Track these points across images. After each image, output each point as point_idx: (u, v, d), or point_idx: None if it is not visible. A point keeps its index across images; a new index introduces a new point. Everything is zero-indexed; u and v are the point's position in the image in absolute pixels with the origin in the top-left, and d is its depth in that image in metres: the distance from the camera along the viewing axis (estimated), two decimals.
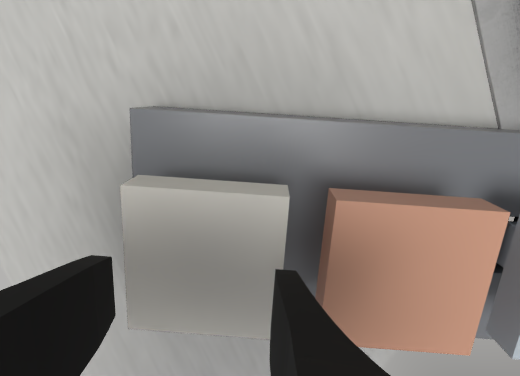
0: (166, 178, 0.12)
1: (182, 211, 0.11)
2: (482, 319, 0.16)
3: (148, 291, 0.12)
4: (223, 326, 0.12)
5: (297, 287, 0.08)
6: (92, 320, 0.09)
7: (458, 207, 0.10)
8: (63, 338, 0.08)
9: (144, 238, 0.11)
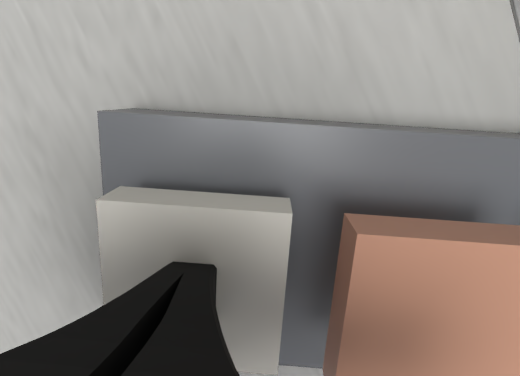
0: (151, 190, 0.10)
1: (168, 230, 0.09)
2: None
3: None
4: None
5: (199, 280, 0.08)
6: None
7: (518, 244, 0.08)
8: None
9: (125, 260, 0.10)
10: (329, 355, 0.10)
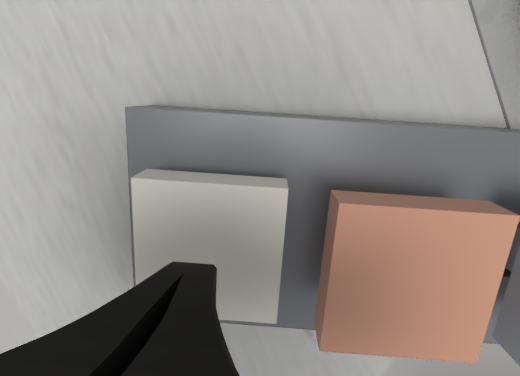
0: (173, 172, 0.12)
1: (188, 202, 0.11)
2: None
3: None
4: (226, 310, 0.13)
5: (199, 280, 0.08)
6: None
7: (466, 211, 0.10)
8: None
9: (153, 227, 0.12)
10: (319, 307, 0.12)
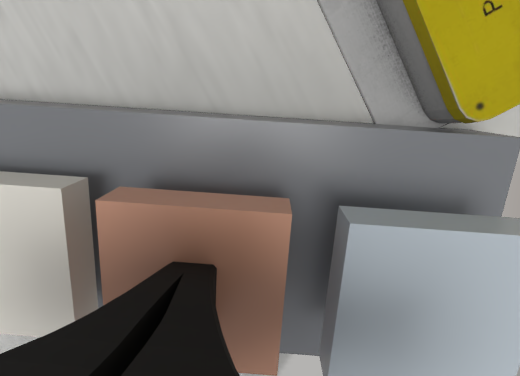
0: None
1: None
2: None
3: None
4: (19, 325, 0.11)
5: (199, 280, 0.08)
6: None
7: (235, 209, 0.09)
8: None
9: None
10: None
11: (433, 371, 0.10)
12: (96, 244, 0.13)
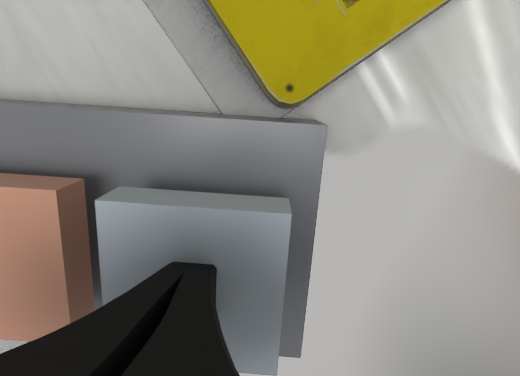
0: None
1: None
2: None
3: None
4: None
5: (199, 280, 0.08)
6: None
7: (6, 186, 0.10)
8: None
9: None
10: None
11: None
12: None
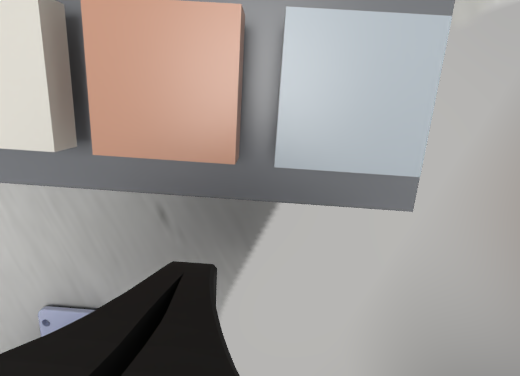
0: None
1: None
2: (307, 182, 0.15)
3: None
4: (3, 138, 0.13)
5: (199, 280, 0.08)
6: None
7: (195, 2, 0.11)
8: None
9: None
10: None
11: (359, 145, 0.12)
12: (75, 89, 0.14)
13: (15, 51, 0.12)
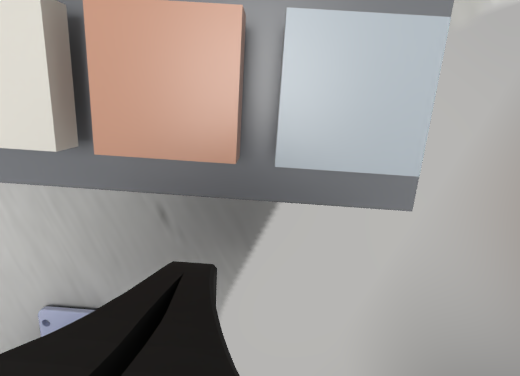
0: None
1: None
2: (307, 182, 0.15)
3: None
4: (5, 137, 0.13)
5: (199, 280, 0.08)
6: None
7: (196, 2, 0.11)
8: None
9: None
10: None
11: (359, 145, 0.12)
12: (77, 89, 0.15)
13: (17, 51, 0.12)
